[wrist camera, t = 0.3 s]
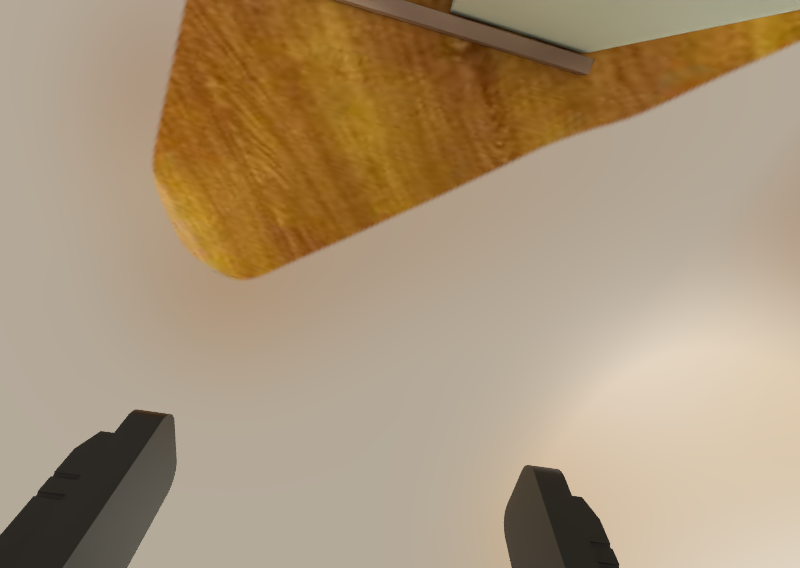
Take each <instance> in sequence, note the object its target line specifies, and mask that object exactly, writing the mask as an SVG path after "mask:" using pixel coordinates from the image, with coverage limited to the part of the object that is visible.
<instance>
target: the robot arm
mask: <svg viewBox="0 0 800 568" xmlns="http://www.w3.org/2000/svg"><path fill="white" fill-rule="evenodd" d="M175 445H176V444H175V426H174V417H173V415H171V414H165V413H158V412H150V411H143V410H134V411H132V412H131V413H130V414H129V415H128V416H127V417H126V419H125V420H124V421H123V423H122V424H121V425H120V427H119V428H118V429H117V430H116V431H115V433H110V432H102V431H101V432H99V433H98V434H96V435H94V436H93V437H92V438H90V439H88V440H87V441H85V442H84V443H82V444H81V445H79V446H78V447H76V448H75V449H74V450H73V451H72V452H71V453H70V455H69V456H68V457H67V458H66V459H65V460H64V462H63V463H62V464H61V465H60V466H59V467H58V468H57V470H56V471H55V473H54V475H53V477H50V478H49V479H48V480H47V481H46V482H45V484H44V485H43V486H42V487H41V488H40V490H39V491H38V494H37V495H36V496H33V498H32V499H31V500H30V501H29V502H28V503H27V505H26V506H25V507H24V508H23V509H22V511H21V512H20V513H19V514H18V515H17V516H16V517H15V519H14V520H13V521H12V522H11V523H10V524H9V526H8V527H7V528H6V529H5V530H4V532H3V533H2V534H1V535H0V568H127V567H128V565H129V563H130V561H131V559H132V557H133V556H134V554H135V552H136V550H137V548H138V546H139V545H140V543H141V541H142V539H143V537H144V536H145V534H146V532H147V530H148V528H149V527H150V525H151V523H152V521H153V519H154V517H155V516H156V514H157V512H158V510H159V508H160V506H161V505H162V503H163V501H164V499H165V497H166V496H167V494H168V491H169V490H170V487H171V485H172V482H173V479H174V475H175V471H176V446H175ZM504 532H505V538H506V543H507V548H508V552H509V557H510V561H511V566H512V568H619V563H618V561H617V558H616V556H615V554H614V552H613V549H611V548H610V543H609V540H608V538H607V535H606V533H605V531H604V528H603V526H602V524H601V522H600V519H599V518H598V517H597V516H596V514H595V513H594V512H593V511H592V509H591V508H590V507H589V506H588V504H587V503H586V502H585V501H584V499H583V498H582V497H577V496H572V495H571V492H570V490H569V487H568V485H567V482H566V480H565V477H564V475H563V474H562V472H561V471H560V470H558V469H552V468H545V467H538V466H530V465H527V466H525V467H524V468H523V470H522V472H521V474H520V476H519V479H518V481H517V483H516V486H515V488H514V490H513V493H512V495H511V497H510V500H509V502H508V504H507V507H506V510H505V517H504Z"/></svg>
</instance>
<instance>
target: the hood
mask: <svg viewBox="0 0 800 568" xmlns="http://www.w3.org/2000/svg"><path fill="white" fill-rule="evenodd" d="M796 10H800V0H453V2H452V6H451V9H450V13H453V14H457V15H460V16H463V17H466V18H470V19H473V20H476V21H479V22H482V23H486V24H489V25H492V26H495V27H499V28H502V29H505V30H508V31H512V32H515V33H518V34H521V35H525V36H528V37H531V38H534V39H537V40H541V41H544V42H547V43H550V44H554V45H557V46H560V47H563V48H567V49H570V50H573V51H576V52H580V53H583V54H584V53H589V52H594V51H599V50H604V49H609V48H614V47H619V46H624V45H629V44H633V43H638V42H643V41H648V40H653V39H658V38H663V37H668V36H673V35H678V34H683V33H688V32H693V31H697V30H702V29H707V28H712V27H717V26H722V25H727V24H732V23H737V22H742V21H747V20H752V19H757V18H761V17H766V16H771V15H776V14H781V13H786V12H791V11H796Z"/></svg>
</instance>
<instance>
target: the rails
mask: <svg viewBox="0 0 800 568" xmlns="http://www.w3.org/2000/svg"><path fill="white" fill-rule="evenodd" d="M335 1H338V2H342V3H345V4H348V5H352V6H355V7H358V8H362V9H365V10H368V11H371V12H375V13H378V14H381V15H385V16H388V17H391V18H394V19H398V20H401V21H404V22H408V23H411V24H414V25H417V26H421V27H424V28H427V29H431V30H434V31H437V32H440V33H444V34H447V35H450V36H454V37H457V38H460V39H463V40H467V41H470V42H473V43H477V44H480V45H483V46H486V47H490V48H493V49H496V50H500V51H503V52H506V53H509V54H513V55H516V56H519V57H523V58H526V59H529V60H532V61H536V62H539V63H542V64H546V65H549V66H552V67H555V68H559V69H562V70H565V71H569V72H572V73H575V74H579V75H588V74H589V72H590V69H591V67H592V64H593V62H594V59H592V58H589V57H586V56H583V55H579V54H576V53H573V52H570V51H566V50H563V49H560V48H557V47H553V46H550V45H547V44H544V43H540V42H537V41H534V40H531V39H528V38H524V37H521V36H518V35H515V34H511V33H508V32H505V31H502V30H498V29H495V28H492V27H489V26H485V25H482V24H479V23H476V22H472V21H469V20H466V19H463V18H459V17H456V16H453V15H450V14H446V13H443V12H440V11H437V10H434V9H430V8H427V7H424V6H421V5H417V4H414V3H411V2H408V1H404V0H335Z"/></svg>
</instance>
